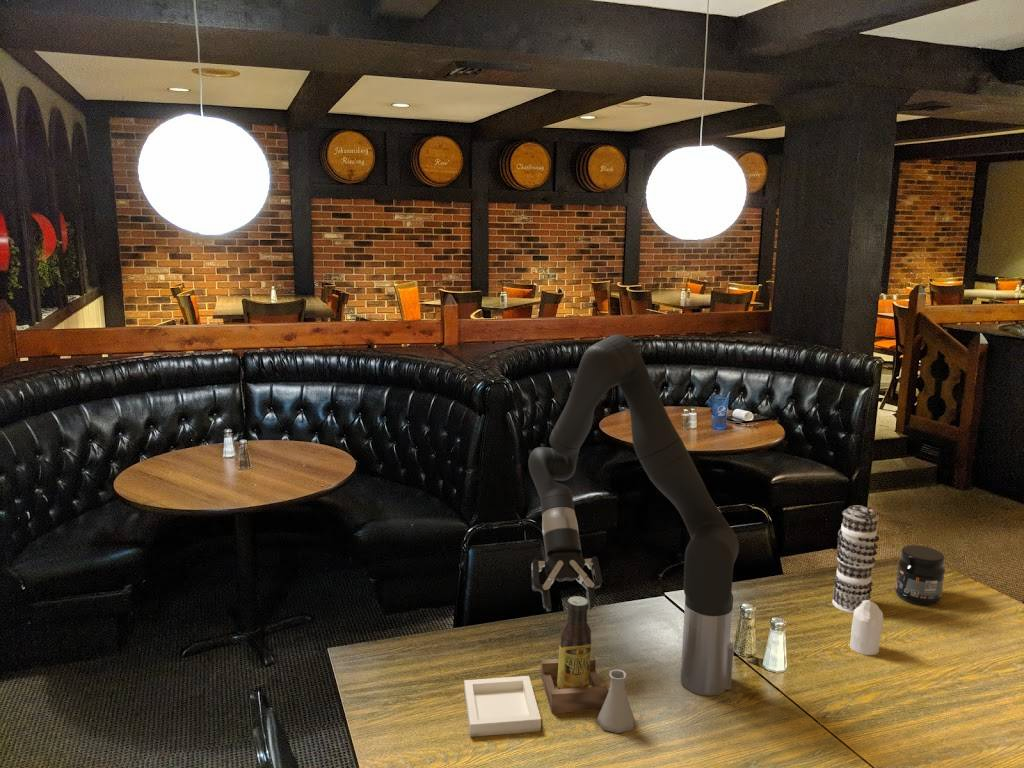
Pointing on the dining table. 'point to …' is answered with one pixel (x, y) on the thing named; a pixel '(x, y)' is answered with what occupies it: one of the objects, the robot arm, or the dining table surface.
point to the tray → (501, 706)
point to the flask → (616, 706)
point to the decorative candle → (855, 558)
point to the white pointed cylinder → (866, 628)
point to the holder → (572, 690)
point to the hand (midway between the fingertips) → (570, 609)
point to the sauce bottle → (575, 646)
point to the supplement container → (920, 575)
